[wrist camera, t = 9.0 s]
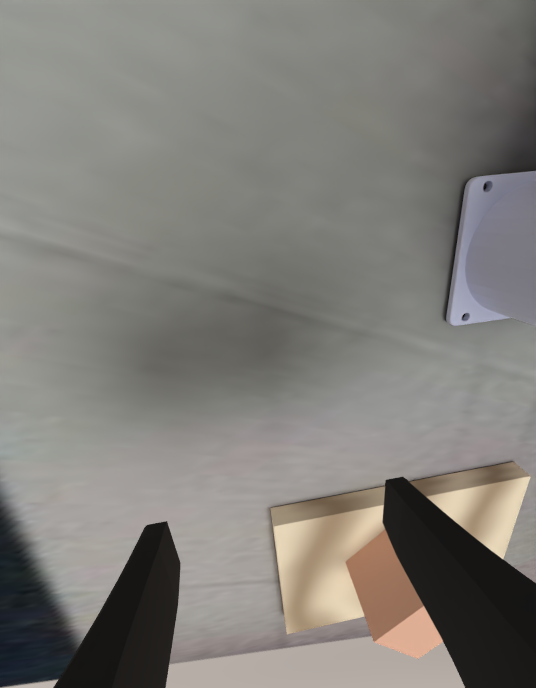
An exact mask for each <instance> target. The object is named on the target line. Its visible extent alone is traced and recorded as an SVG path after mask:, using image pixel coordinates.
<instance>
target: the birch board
mask: <svg viewBox="0 0 536 688" xmlns="http://www.w3.org/2000/svg"><path fill="white" fill-rule="evenodd" d="M529 479H530V475H529V474H528V473H526V472H525V471H524V470H523V469H522V468H520V467H519V466H518V465H517V464H516V463H514V462H510V463H504V464H499V465H494V466H489V467H483V468H478V469H473V470H468V471H462V472H457V473H452V474H447V475H441V476H436V477H431V478H426V479H420V480H415V481H410V483H411V484H412V485H413V486H414V487H416V488H417V489H418V490H419V491H420V492H421V493H422V494H424V495H425V496H426V497H427V498H428V499H429V500H430V501H432V502H433V503H434V504H435V505H436V506H437V507H439V508H440V509H441V510H442V511H443V512H444V513H446V514H447V515H448V516H449V517H450V518H452V519H453V520H454V521H455V522H456V523H458V524H459V525H460V526H461V527H463V528H464V529H465V530H466V531H467V532H469V533H470V534H471V535H472V536H474V537H475V538H476V539H477V540H479V541H480V542H481V543H482V544H484V545H485V546H486V547H487V548H489V549H490V550H491V551H493V552H494V553H495V554H497V555H498V556H499V557H501V558H502V559H504V556H505V552H506V549H507V546H508V543H509V540H510V537H511V534H512V531H513V528H514V525H515V522H516V519H517V516H518V513H519V510H520V507H521V504H522V501H523V498H524V495H525V492H526V489H527V486H528V482H529ZM384 495H385V486H384V487H379V488H373V489H368V490H363V491H358V492H352V493H347V494H342V495H337V496H331V497H326V498H321V499H316V500H310V501H305V502H300V503H295V504H289V505H284V506H279V507H274V508H270V509H271V517H272V525H273V533H274V541H275V548H276V556H277V564H278V572H279V580H280V588H281V596H282V604H283V612H284V618H285V625H286V631H287V634H290V633H294V632H299V631H303V630H307V629H312V628H316V627H320V626H325V625H329V624H333V623H338V622H342V621H347V620H351V619H355V618H360V617H364V613H363V610H362V607H361V604H360V602H359V599H358V596H357V593H356V590H355V588H354V585H353V582H352V579H351V577H350V574H349V571H348V568H347V565H346V563H345V562H346V561H347V560H348V559H350V558H351V557H352V556H353V555H355V554H356V553H357V552H358V551H359V550H361V549H362V548H363V547H364V546H366V545H367V544H368V543H369V542H370V541H372V540H373V539H374V538H375V537H377V536H378V535H379V534H380V533H381V532H383V531H384V530H385V527H384V525H383V523H382V520H383V508H384Z"/></svg>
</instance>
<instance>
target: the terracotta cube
mask: <svg viewBox="0 0 536 688" xmlns="http://www.w3.org/2000/svg"><path fill="white" fill-rule="evenodd" d="M345 563H346V565H347V568H348V571H349V574H350V577H351V579H352V582H353V585H354V588H355V590H356V593H357V596H358V599H359V602H360V604H361V607H362V610H363V613H364V616H365V618H366V621H367V624H368V627H369V630H370V632H371V635H372V638H373V641H374V642H375V643H378V644H380V645H383V646H386V647H388V648H391V649H393V650H396V651H399V652H401V653H404V654H407V655H409V656H412V657H415V658H417V659H418V658H420V657H421V656H423V655H424V654H426V653H427V652H428V651H430V650H431V649H433V648H435V647H436V646H437V645H438V644H440V643H442V642H443V640H442V638H441V636H440V635H439V633H438V631H437V629H436V627H435V625H434V624H433V622H432V620H431V618H430V616H429V615H428V613H427V611H426V609H425V607H424V605H423V604H422V602H421V600H420V598H419V596H418V595H417V593H416V591H415V589H414V587H413V585H412V584H411V582H410V580H409V578H408V576H407V574H406V573H405V571H404V569H403V567H402V565H401V563H400V561H399V559H398V558H397V556H396V553H395V551H394V549H393V546H392V544H391V542H390V540H389V537H388V535H387V532H386V530H384V531H383V532H381V533H380V534H379V535H378V536H377V537H375V538H374V539H373V540H372V541H370V542H369V543H368V544H367V545H366V546H364V547H363V548H362V549H361V550H359V551H358V552H357V553H356V554H355V555H353V556H352V557H351V558H350V559H348V560H347V561H346V562H345Z"/></svg>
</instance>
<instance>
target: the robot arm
mask: <svg viewBox="0 0 536 688" xmlns="http://www.w3.org/2000/svg"><path fill="white" fill-rule="evenodd" d="M485 183H486V184H487V187H486V190H485V191H484V190H483V186H484V184H485ZM463 314H465V316H464V317H463V318H462V316H463ZM507 318H513V319H516V320H519V321H522V322H525V323H528V324H531V325H534V326H536V171H530V172H519V173H509V174H498V175H488V176H479V177H474V178H471V179H470V180H469V181H468V182H467V184H466V186H465V191H464V198H463V205H462V212H461V219H460V226H459V233H458V239H457V246H456V253H455V260H454V267H453V274H452V281H451V288H450V295H449V302H448V309H447V316H446V321H447V322H448V323H449V324H451V325H453V326H458V325H465V324H472V323H479V322H486V321H493V320H500V319H507ZM382 523H383V525H384V527H385V530H386V532H387V535H388V537H389V540H390V542H391V544H392V546H393V549H394V551H395V553H396V556H397V558H398V559H399V561H400V563H401V565H402V567H403V569H404V571H405V573H406V574H407V576H408V578H409V580H410V582H411V584H412V585H413V587H414V589H415V591H416V593H417V595H418V596H419V598H420V600H421V602H422V604H423V605H424V607H425V609H426V611H427V613H428V615H429V616H430V618H431V620H432V622H433V624H434V625H435V627H436V629H437V631H438V633H439V635H440V636H441V638H442V640H443V642H444V644H445V646H446V648H447V650H448V652H449V654H450V656H451V658H452V660H453V662H454V664H455V666H456V668H457V671H458V672H459V675H460V677H461V679H462V681H463V684H464V686H465V688H536V583H535V582H533V581H532V580H530V579H529V578H528V577H526V576H525V575H523V574H522V573H521V572H519V571H518V570H517V569H515V568H514V567H512V566H511V565H510V564H508V563H507V562H506V561H504V560H503V559H502V558H501V557H499V556H498V555H497V554H495V553H494V552H493V551H491V550H490V549H489V548H487V547H486V546H485V545H484V544H482V543H481V542H480V541H479V540H477V539H476V538H475V537H474V536H472V535H471V534H470V533H469V532H467V531H466V530H465V529H464V528H463V527H461V526H460V525H459V524H458V523H456V522H455V521H454V520H453V519H452V518H450V517H449V516H448V515H447V514H446V513H444V512H443V511H442V510H441V509H440V508H439V507H437V506H436V505H435V504H434V503H433V502H432V501H430V500H429V499H428V498H427V497H426V496H425V495H424V494H422V493H421V492H420V491H419V490H418V489H417V488H416V487H414V486H413V485H412V484H411V483H410V482H409V481H408V480H406V479H405V478H404V477H399V478H394V479H389V480H386V483H385V495H384V508H383V520H382ZM179 580H180V560H179V557H178V554H177V551H176V548H175V545H174V542H173V539H172V536H171V533H170V529H169V526H168V523H167V521H166V522H161V523H156V524H150V525H147V526H146V527H145V528H144V530H143V532H142V534H141V536H140V538H139V540H138V542H137V544H136V546H135V548H134V550H133V552H132V554H131V556H130V558H129V560H128V562H127V564H126V565H125V567H124V569H123V571H122V573H121V575H120V577H119V579H118V581H117V582H116V584H115V586H114V588H113V589H112V591H111V593H110V595H109V597H108V598H107V600H106V602H105V604H104V606H103V607H102V609H101V611H100V613H99V614H98V616H97V618H96V620H95V621H94V623H93V625H92V626H91V628H90V630H89V631H88V633H87V635H86V636H85V638H84V640H83V641H82V643H81V645H80V646H79V648H78V649H77V651H76V653H75V654H74V656H73V658H72V659H71V661H70V663H69V664H68V666H67V667H66V669H65V670H64V672H63V674H62V675H61V677H60V678H59V680H58V681H57V683H56V685H55V686H54V688H165V687H166V680H167V674H168V667H169V661H170V654H171V648H172V641H173V634H174V628H175V621H176V614H177V607H178V596H179Z"/></svg>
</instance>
